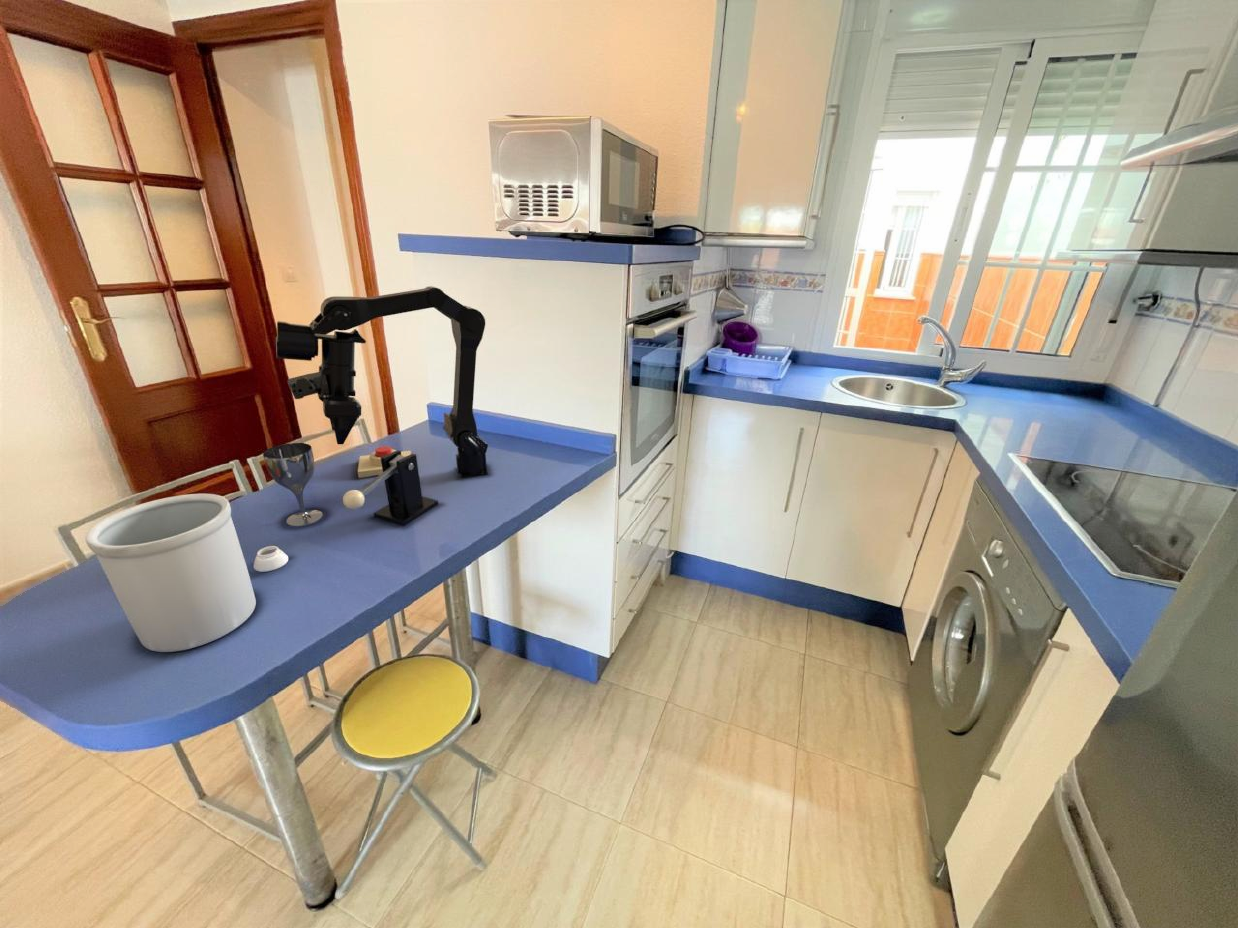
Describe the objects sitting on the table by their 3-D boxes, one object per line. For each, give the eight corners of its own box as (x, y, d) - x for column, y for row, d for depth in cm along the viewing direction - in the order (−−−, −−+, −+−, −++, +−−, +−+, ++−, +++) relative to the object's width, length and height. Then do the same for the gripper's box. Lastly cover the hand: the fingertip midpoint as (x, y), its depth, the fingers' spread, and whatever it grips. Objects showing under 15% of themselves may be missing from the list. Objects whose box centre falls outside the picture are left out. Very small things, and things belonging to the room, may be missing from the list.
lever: (356, 515, 92) (349, 499, 90) (342, 510, 93) (335, 495, 91) (413, 469, 103) (408, 454, 101) (400, 465, 104) (395, 451, 102)
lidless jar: (273, 554, 90) (247, 570, 86) (268, 540, 89) (242, 556, 85) (295, 559, 89) (270, 575, 85) (291, 545, 88) (266, 561, 84)
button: (392, 452, 127) (391, 445, 126) (392, 457, 124) (391, 450, 123) (376, 453, 126) (375, 447, 125) (376, 459, 123) (375, 452, 122)
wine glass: (336, 514, 104) (320, 447, 98) (299, 532, 97) (280, 461, 91) (310, 505, 107) (293, 440, 101) (273, 522, 100) (253, 453, 94)
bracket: (404, 526, 100) (394, 468, 95) (374, 518, 103) (363, 461, 98) (438, 505, 109) (431, 450, 104) (409, 497, 112) (401, 444, 106)
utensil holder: (127, 619, 74) (80, 516, 67) (246, 576, 85) (215, 483, 77) (142, 673, 65) (89, 562, 58) (273, 618, 75) (241, 517, 68)
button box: (411, 456, 132) (409, 444, 131) (412, 471, 124) (410, 458, 123) (360, 462, 128) (358, 449, 127) (358, 478, 120) (356, 464, 118)
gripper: (288, 350, 103) (289, 423, 107) (292, 369, 88) (294, 452, 93) (349, 355, 109) (348, 424, 114) (362, 374, 95) (360, 451, 100)
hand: (337, 437), depth 105 cm, fingers open, 9 cm apart
